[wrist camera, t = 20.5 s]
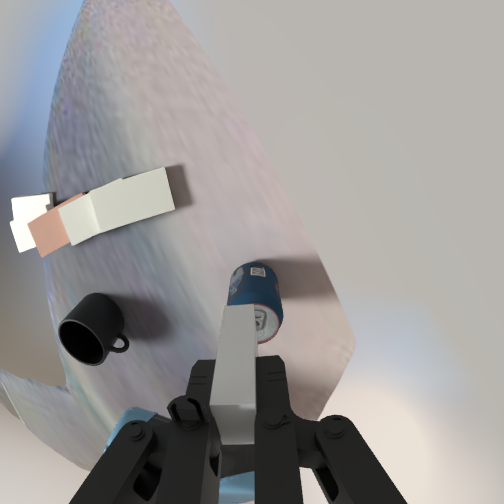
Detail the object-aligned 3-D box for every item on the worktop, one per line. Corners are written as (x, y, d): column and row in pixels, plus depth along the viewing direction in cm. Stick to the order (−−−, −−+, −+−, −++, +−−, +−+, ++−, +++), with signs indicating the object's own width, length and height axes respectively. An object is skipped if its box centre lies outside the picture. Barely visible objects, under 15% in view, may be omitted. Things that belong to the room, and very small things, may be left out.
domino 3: (81, 192, 36) (27, 223, 33) (96, 228, 38) (41, 257, 35) (84, 192, 38) (31, 222, 35) (98, 226, 40) (45, 254, 37)
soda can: (271, 302, 44) (277, 351, 33) (228, 296, 44) (221, 344, 33) (280, 262, 42) (291, 303, 31) (234, 255, 42) (228, 295, 30)
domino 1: (49, 194, 37) (11, 198, 37) (53, 228, 39) (15, 229, 39) (55, 192, 39) (17, 196, 38) (59, 225, 41) (21, 226, 41)
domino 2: (45, 205, 35) (9, 222, 36) (55, 239, 37) (19, 252, 38) (52, 202, 37) (16, 219, 38) (62, 236, 39) (25, 248, 40)
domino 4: (121, 177, 35) (57, 208, 33) (135, 216, 37) (72, 246, 35) (123, 177, 37) (62, 207, 35) (137, 215, 39) (76, 243, 37)
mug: (132, 349, 48) (116, 381, 40) (79, 322, 46) (57, 349, 38) (142, 313, 45) (123, 344, 37) (84, 284, 43) (58, 309, 35)
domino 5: (164, 166, 35) (89, 191, 33) (175, 209, 37) (100, 233, 35) (164, 167, 37) (92, 190, 35) (174, 208, 39) (103, 230, 36)
